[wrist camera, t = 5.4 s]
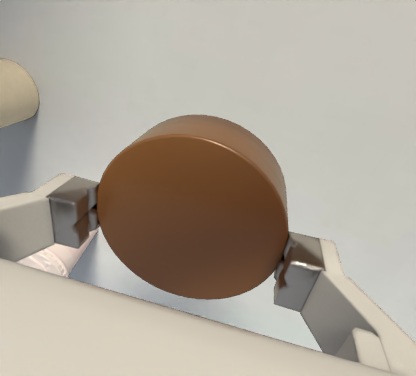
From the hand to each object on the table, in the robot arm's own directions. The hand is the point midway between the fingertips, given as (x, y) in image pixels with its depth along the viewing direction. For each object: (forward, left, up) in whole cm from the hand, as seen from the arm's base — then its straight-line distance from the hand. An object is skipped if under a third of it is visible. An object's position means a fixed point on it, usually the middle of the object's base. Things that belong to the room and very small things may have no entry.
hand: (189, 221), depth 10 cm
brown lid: (0, 0, -2) cm, 2 cm away
